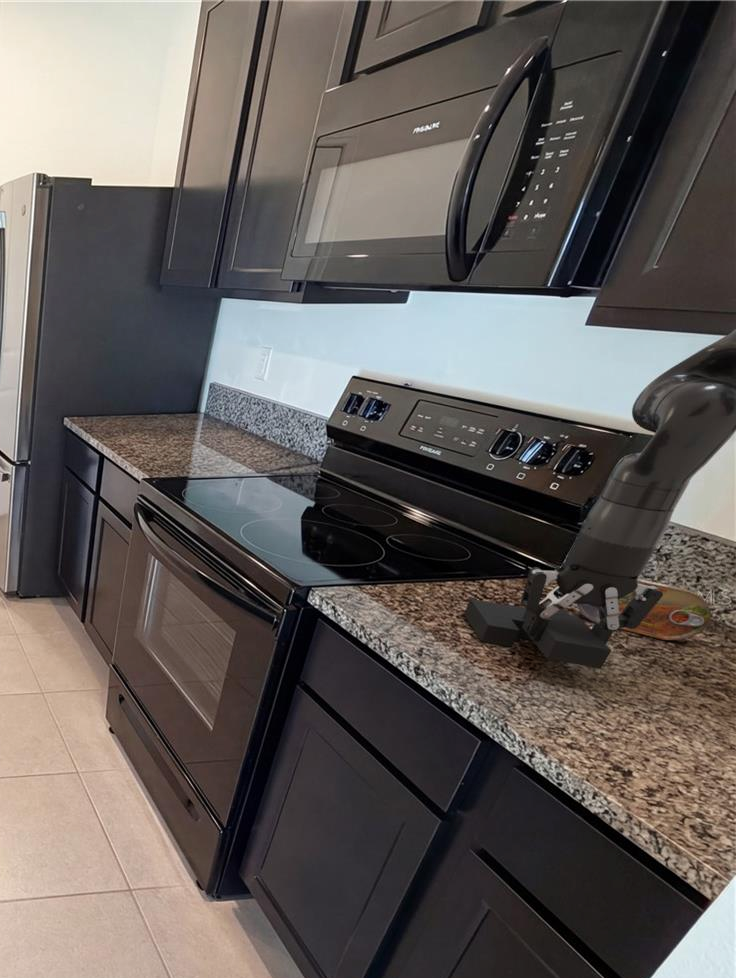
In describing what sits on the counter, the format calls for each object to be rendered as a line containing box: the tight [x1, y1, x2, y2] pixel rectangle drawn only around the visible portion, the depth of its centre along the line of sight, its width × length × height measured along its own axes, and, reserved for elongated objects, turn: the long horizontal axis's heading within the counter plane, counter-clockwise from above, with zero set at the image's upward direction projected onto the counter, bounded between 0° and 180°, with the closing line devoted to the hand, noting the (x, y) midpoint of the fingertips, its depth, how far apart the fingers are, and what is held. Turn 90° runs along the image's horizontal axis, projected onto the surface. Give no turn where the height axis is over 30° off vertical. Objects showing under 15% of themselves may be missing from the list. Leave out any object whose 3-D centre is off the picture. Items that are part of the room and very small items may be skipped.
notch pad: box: [463, 598, 578, 648], centre depth 103 cm, size 14×10×3 cm
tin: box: [576, 578, 712, 641], centre depth 105 cm, size 15×3×8 cm, turn 45°
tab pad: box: [522, 608, 612, 670], centre depth 95 cm, size 6×14×3 cm, turn 157°
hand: (561, 643), depth 94 cm, fingers closed on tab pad, 6 cm apart
